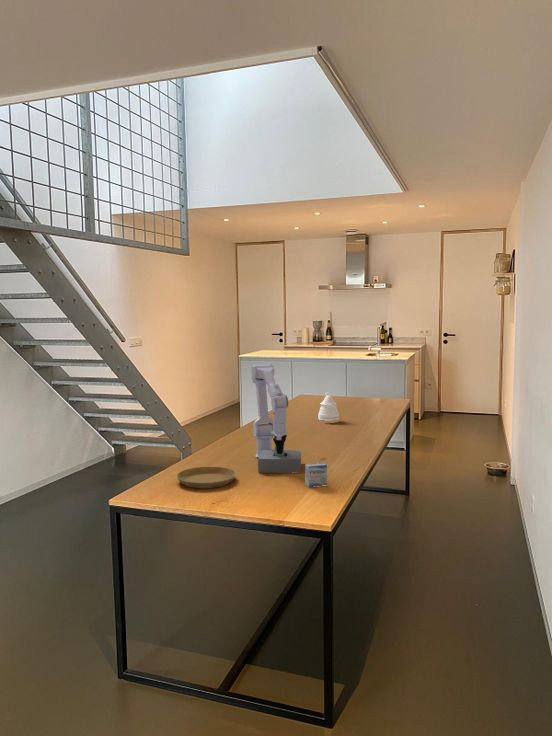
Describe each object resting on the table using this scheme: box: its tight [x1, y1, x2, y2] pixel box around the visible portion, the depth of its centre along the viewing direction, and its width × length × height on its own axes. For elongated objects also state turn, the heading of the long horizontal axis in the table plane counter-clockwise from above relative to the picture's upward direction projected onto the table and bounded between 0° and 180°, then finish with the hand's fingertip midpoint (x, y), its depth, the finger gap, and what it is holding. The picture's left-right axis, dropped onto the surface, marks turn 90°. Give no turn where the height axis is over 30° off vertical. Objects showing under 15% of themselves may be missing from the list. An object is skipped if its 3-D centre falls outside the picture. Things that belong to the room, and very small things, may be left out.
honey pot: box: [317, 392, 340, 421], centre depth 356 cm, size 13×13×18 cm
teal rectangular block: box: [274, 444, 285, 456], centre depth 255 cm, size 4×4×5 cm
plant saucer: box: [176, 466, 237, 489], centre depth 237 cm, size 24×24×3 cm
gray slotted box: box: [257, 449, 302, 474], centre depth 255 cm, size 16×18×6 cm
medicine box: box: [304, 462, 328, 488], centre depth 229 cm, size 8×4×9 cm, turn 105°
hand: (280, 452), depth 255 cm, fingers closed on teal rectangular block, 4 cm apart
